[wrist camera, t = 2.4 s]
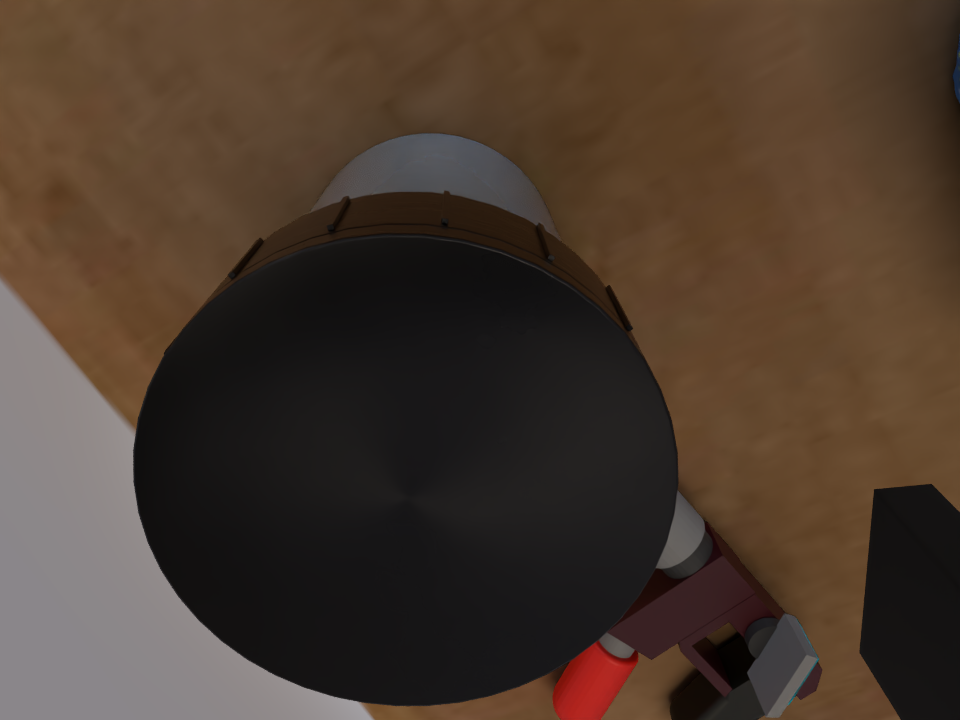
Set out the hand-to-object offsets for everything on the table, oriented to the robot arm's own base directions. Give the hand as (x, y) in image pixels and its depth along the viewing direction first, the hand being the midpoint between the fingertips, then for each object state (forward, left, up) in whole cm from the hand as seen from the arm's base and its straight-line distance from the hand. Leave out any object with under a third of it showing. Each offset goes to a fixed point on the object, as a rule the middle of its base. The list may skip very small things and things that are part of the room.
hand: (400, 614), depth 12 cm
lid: (0, 0, -3) cm, 3 cm away
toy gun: (+16, +1, -17) cm, 23 cm away
